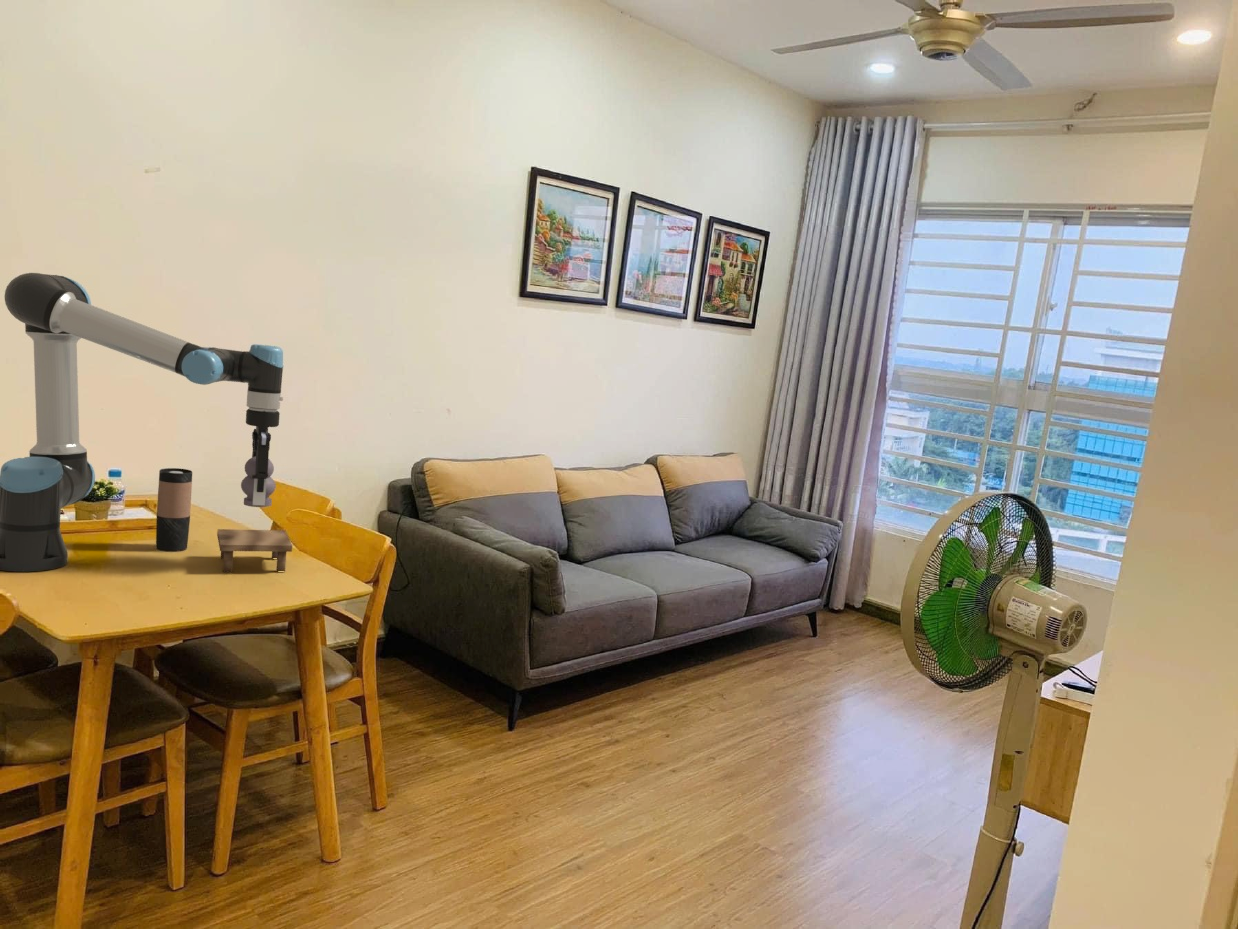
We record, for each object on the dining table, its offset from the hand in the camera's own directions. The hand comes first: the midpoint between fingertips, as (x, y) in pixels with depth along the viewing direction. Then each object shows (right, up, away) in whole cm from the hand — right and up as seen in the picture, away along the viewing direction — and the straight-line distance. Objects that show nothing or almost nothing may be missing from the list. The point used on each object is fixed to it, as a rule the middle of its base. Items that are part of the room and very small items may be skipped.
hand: (257, 501), depth 223 cm
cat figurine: (0, -1, 0) cm, 1 cm away
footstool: (-2, -16, +2) cm, 16 cm away
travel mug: (-25, -13, +8) cm, 29 cm away
